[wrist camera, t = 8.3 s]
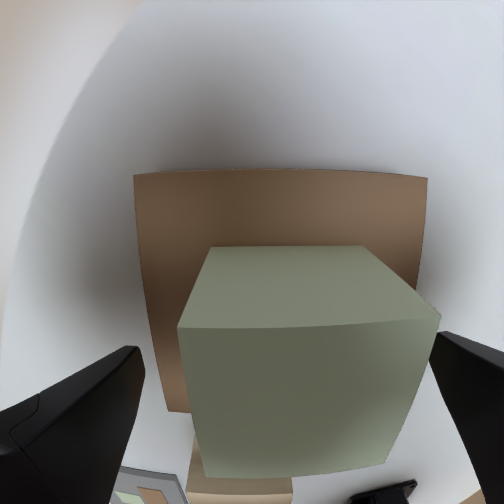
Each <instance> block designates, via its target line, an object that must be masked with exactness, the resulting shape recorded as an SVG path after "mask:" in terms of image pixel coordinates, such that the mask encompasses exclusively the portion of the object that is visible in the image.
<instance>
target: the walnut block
mask: <svg viewBox="0 0 504 504" xmlns="http://www.w3.org/2000/svg"><path fill="white" fill-rule="evenodd" d="M133 177H134V196H135V211H136V224H137V235H138V245H139V254H140V263H141V271H142V279H143V286H144V293H145V300H146V306H147V312H148V319H149V324H150V330H151V336H152V341H153V346H154V351H155V356H156V361H157V366H158V370H159V375H160V379H161V384H162V388H163V392H164V397H165V401H166V405H167V409H168V411H170V412H182V413H191V409H190V404H189V398H188V393H187V388H186V382H185V377H184V371H183V365H182V359H181V353H180V346H179V340H178V333H177V326H178V323H179V321H180V318H181V316H182V313H183V311H184V309H185V306H186V304H187V301H188V299H189V297H190V294H191V292H192V290H193V287H194V285H195V283H196V280H197V278H198V276H199V273H200V271H201V269H202V266H203V264H204V262H205V259H206V257H207V255H208V253H209V250H210V248H211V247H237V246H341V245H363V246H364V247H365V248H366V249H367V250H369V251H370V252H371V253H372V254H373V255H375V256H376V257H377V258H378V259H379V260H380V261H382V262H383V263H384V264H385V265H386V266H388V267H389V268H390V269H391V270H392V271H393V272H395V273H396V274H397V275H398V276H399V277H400V278H401V279H403V280H404V281H405V282H406V283H407V284H408V285H409V286H410V287H412V288H413V289H414V290H415V289H416V284H417V278H418V272H419V265H420V258H421V251H422V243H423V234H424V224H425V213H426V200H427V181H428V178H425V177H418V176H410V175H402V174H391V173H379V172H364V171H347V170H324V169H278V168H257V169H211V170H188V171H171V172H156V173H147V174H139V175H133Z"/></svg>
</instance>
